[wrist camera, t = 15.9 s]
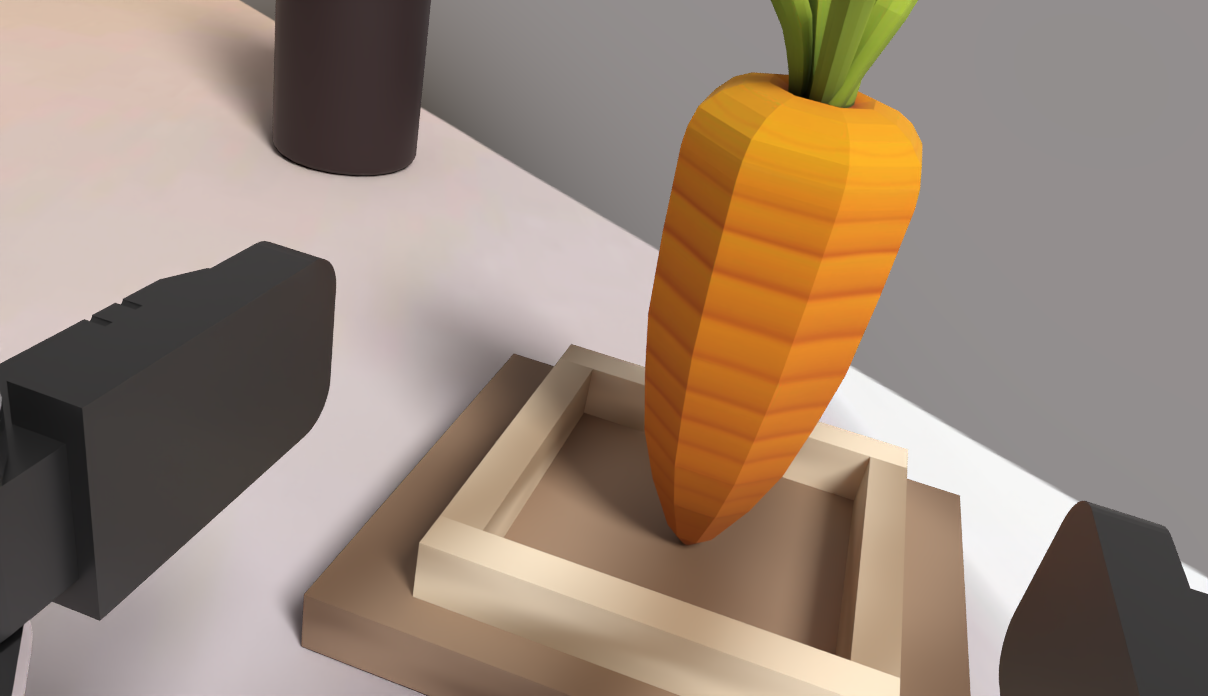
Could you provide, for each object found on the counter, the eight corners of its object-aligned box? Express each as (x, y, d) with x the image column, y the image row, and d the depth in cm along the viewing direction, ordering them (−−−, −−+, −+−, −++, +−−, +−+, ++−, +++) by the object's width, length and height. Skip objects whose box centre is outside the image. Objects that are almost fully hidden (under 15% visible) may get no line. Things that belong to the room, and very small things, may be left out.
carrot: (713, 650, 21) (968, -91, 14) (546, 529, 24) (691, -156, 16) (820, 552, 25) (1064, -75, 18) (666, 456, 27) (826, -131, 20)
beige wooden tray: (301, 646, 21) (307, 539, 20) (507, 393, 32) (520, 311, 30) (950, 898, 19) (1009, 797, 17) (941, 535, 29) (978, 453, 28)
